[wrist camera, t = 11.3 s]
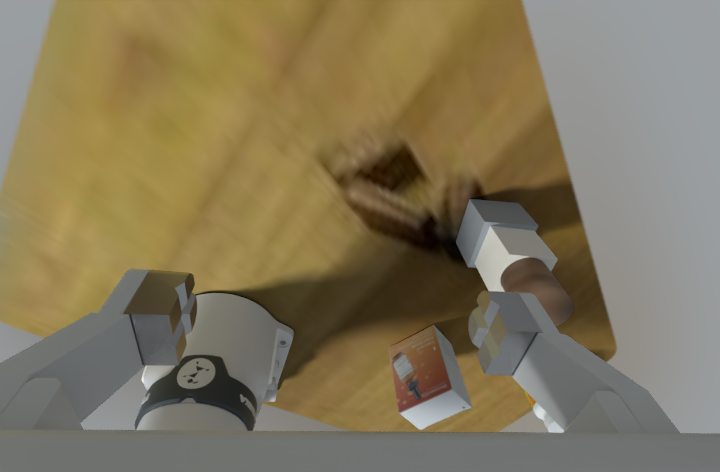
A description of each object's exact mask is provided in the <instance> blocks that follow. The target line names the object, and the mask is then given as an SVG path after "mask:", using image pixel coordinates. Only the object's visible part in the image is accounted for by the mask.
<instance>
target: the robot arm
mask: <svg viewBox="0 0 720 472" xmlns="http://www.w3.org/2000/svg"><path fill="white" fill-rule="evenodd" d="M194 285H195V283H194V277H193V275H192V274H191V273H184V272H172V271H160V270H143V269H130V270H128V271H127V272H126V273H125V274H124V276H123V277H122V279H121V280H120V282H119V283H118V285H117V286H116V287H115V289H114V290H113V292H112V293H111V295H110V296H109V298H108V299H107V301H106V302H105V303H104V305H103V306H102V308H101V309H100V311H99V312H98V313H90V314H88V315H87V316H85V317H83V318H81V319H79V320H78V321H76V322H74V323H72V324H70V325H68V326H67V327H65V328H63V329H61V330H59V331H58V332H56V333H54V334H52V335H50V336H48V337H47V338H45V339H43V340H41V341H40V342H38V343H36V344H34V345H32V346H30V347H29V348H27V349H25V350H23V351H21V352H20V353H18V354H16V355H14V356H12V357H10V358H9V359H7V360H5V361H3V362H1V363H0V472H720V434H699V433H695V434H694V433H692V434H691V433H683V434H682V433H680V432H679V431H678V429H677V428H676V427H675V425H674V424H673V423H672V422H671V420H670V419H669V418H668V416H667V415H666V414H665V413H664V411H663V410H662V409H661V407H660V406H659V405H658V403H657V402H656V401H655V400H654V398H653V397H652V396H651V394H650V393H649V392H648V391H647V390H646V389H644V388H643V387H641V386H640V385H638V384H637V383H636V382H634V381H633V380H631V379H630V378H628V377H627V376H625V375H624V374H622V373H621V372H620V371H618V370H617V369H615V368H614V367H612V366H611V365H609V364H608V363H607V362H605V361H604V360H602V359H601V358H599V357H598V356H596V355H595V354H593V353H592V352H591V351H589V350H588V349H586V348H585V347H583V346H582V345H580V344H579V343H577V342H576V341H575V340H573V339H572V338H570V337H569V336H567V335H566V334H560V333H559V331H558V330H557V328H556V326H555V325H554V323H553V322H552V320H551V319H550V317H549V316H548V314H547V313H546V311H545V310H544V308H543V307H542V305H541V304H540V302H539V301H538V299H537V298H536V296H535V295H534V294H532V293H526V292H499V291H482V292H481V293H480V294H479V296H478V298H477V300H476V301H477V303H478V305H479V306H478V307H477V308H476V309H474V310H473V311H472V312H471V315H470V317H469V323H468V330H469V336H470V338H471V341H472V343H473V344H474V345H475V346H477V347H478V348H479V351H478V354H477V356H478V359H479V361H480V364H481V366H482V369H483V371H484V374H488V375H506V376H513V378H514V380H515V381H516V382H517V383H518V384H519V385H520V386H521V387H522V388H523V389H524V390H525V391H526V392H527V393H528V394H529V395H530V396H531V397H532V398H533V399H534V400H535V401H536V402H537V403H538V404H539V405H540V406H541V407H542V408H543V409H544V410H545V411H546V412H547V413H548V414H549V415H550V417H551V418H552V419H553V420H554V421H555V422H556V423H557V424H558V425H559V426H560V427H561V428H562V429H563V430H564V432H563V433H535V432H533V433H532V432H531V433H530V432H360V431H346V432H345V431H253V429H254V426H255V421H256V418H257V417H258V414H259V412H260V409H261V405H262V403H263V401H264V400H265V401H269V402H274V401H275V400H276V395H277V389H278V382H279V379H280V376H281V373H282V370H283V367H284V364H285V361H286V358H287V355H288V352H289V349H290V347H291V344H292V341H293V337H294V331H293V330H292V329H291V328H289V327H288V326H286V325H284V324H282V323H280V322H278V321H276V320H275V319H274V318H273V317H272V316H271V315H270V314H269V313H268V312H267V311H266V310H265V309H264V308H263V307H261V306H260V305H258V304H257V303H255V302H253V301H251V300H249V299H246V298H243V297H240V296H236V295H232V294H225V293H208V294H201V295H197V296H195V295H194V294H193V293H192V290H193V288H194ZM143 366H146V367H145V369H144V372H143V375H142V382H144V385H145V387H146V389H147V390H148V391H147V394H146V396H145V398H144V399H143V401H142V403H141V405H140V408H139V411H138V416H137V419H136V421H135V430H83V428H82V426H81V424H80V423H81V422H82V421H83V420H84V419H85V418H86V417H87V416H89V415H90V414H91V413H92V412H93V411H94V410H95V409H97V408H98V407H99V406H100V405H101V404H102V403H103V402H105V401H106V400H107V399H108V398H109V397H110V396H111V395H112V394H114V392H116V391H117V390H118V389H119V388H120V387H122V385H124V384H125V383H126V382H127V381H128V380H130V379H131V378H132V377H133V376H134V375H135V374H136V373H137V372H139V371H140V370H141V369H142V368H143Z"/></svg>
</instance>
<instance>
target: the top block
mask: <svg viewBox="0 0 720 472" xmlns="http://www.w3.org/2000/svg"><path fill="white" fill-rule="evenodd" d="M523 258H537V259H540V260H541V261H543V262H544V263H545V265H546V266H547V267H548V269H549V270H550V271H552V269H553V267H554V265H555V264H556V262H557V260H558V259H557V258H556V256H555V255H554V254H553V253H552V252H551V250H550V249H549V248H548V247H547V245H546V244H545V243H544V242H543V241H542V239H541V238H540V237H539V236H538V235H537V233H536V232H535V231H533V230H524V229H515V228H506V227H497V226H490V228H489V230H488V233H487V235H486V237H485V240H484V242H483V244H482V247H481V249H480V251H479V254H478V256H477V259H476V261H475V263H474V264H475V266H476V268H477V269H478V271H479V273H480V275H481V277H482V279H483V281H484V283H485V285H486V287H487V289H488V291H499V292H505V291H504V289H503V287H502V286H501V282H500V279H501V275H502V273H503V271H504V270H505V269H506V268H507V267H508V266H509V265H510V264H511V263H513V262H515V261H517V260H519V259H523Z"/></svg>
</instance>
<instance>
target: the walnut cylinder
mask: <svg viewBox="0 0 720 472" xmlns="http://www.w3.org/2000/svg"><path fill="white" fill-rule="evenodd" d="M500 282H501V286H502V287H503V289H504V291H505V292H526V293H532V294H534V295H535V296H536V298H537V299H538V301H539V302H540V304H541V305H542V307H543V308H544V310H545V311H546V313H547V314H548V316H549V317H550V319H551V320H552V322H553V323H554V325H555V326H556V327H558V326H559V325H561V324H563V323H564V322H565V321H566V320H567V319H568V318H569V317H570V316H571V314H572V313H573V310H574V303H573V300H572V299H571V298H570V296H569V295H568V294H567V292H566V291H565V290H564V288H563V287H562V286H561V284H560V283H559V282H558V281H557V279H556V278H555V277H554V275H553V274H552V273H551V271H550V270H549V269H548V267H547V266H546V265H545V263H544V262H543V261H541V260H540V259H537V258H523V259H519V260H517V261H515V262H513V263H511V264H510V265H509V266H508V267H507V268H506V269H505V270H504V271H503V273H502V275H501V279H500Z"/></svg>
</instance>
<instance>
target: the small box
mask: <svg viewBox="0 0 720 472" xmlns="http://www.w3.org/2000/svg"><path fill="white" fill-rule="evenodd" d="M389 354H390V360H391V366H392V373H393V379H394V385H395V391H396V397H397V403H398V410H399V413H400V414H401V415H402V416H404V417H405V418H406V419H407V420H409V421H410V422H411V423H412V424H414V425H415V426H416V427H417V428H419V429H420V430H422V429H424V428H426V427H427V426H429V425H431V424H434V423H436V422H438V421H441V420H443V419H445V418H447V417H450V416H452V415H454V414H457V413H459V412H462V411H464V410H467V409H470V408H472V405H471V402H470V399H469V396H468V393H467V390H466V387H465V384H464V381H463V378H462V375H461V372H460V369H459V366H458V363H457V360H456V357H455V354H454V351H453V347H452V345H451V343H450V342H449V341H448V340H447V339H446V338H445V336H444V335H443V334H442V333H441V332H440V331H439V330H438V329H437V328H436V327H435V326H434V325H431V326H430V327H428V328H426V329H424V330H423V331H421V332H419V333H417V334H415V335H413V336H411V337H409V338H407V339H405V340H403V341H401V342H399V343H397V344H394V345H392V346H390V347H389Z"/></svg>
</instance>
